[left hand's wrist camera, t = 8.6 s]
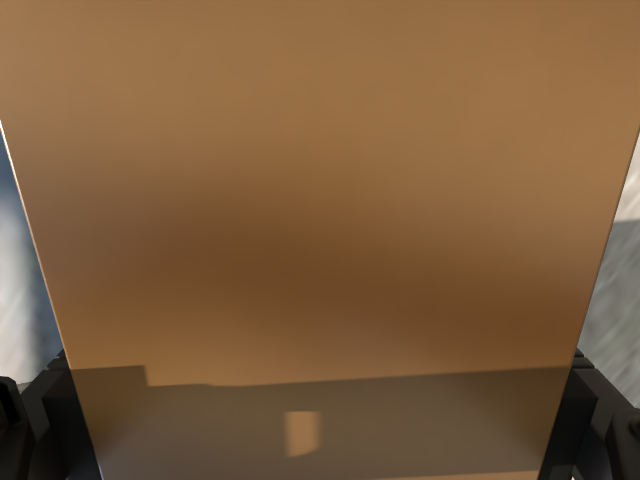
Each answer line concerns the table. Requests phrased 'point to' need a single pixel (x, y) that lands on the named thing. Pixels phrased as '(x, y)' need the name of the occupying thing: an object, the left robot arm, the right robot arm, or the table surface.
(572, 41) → the wide beam
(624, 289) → the table surface
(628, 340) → the table surface
